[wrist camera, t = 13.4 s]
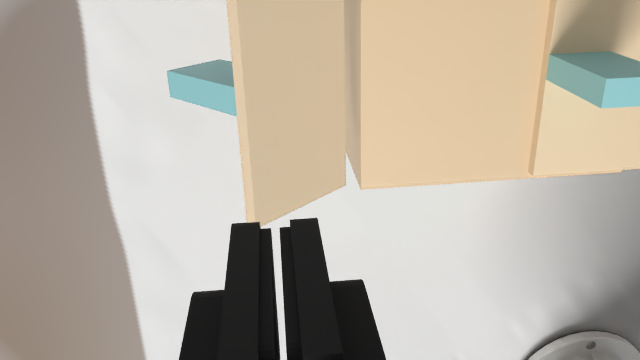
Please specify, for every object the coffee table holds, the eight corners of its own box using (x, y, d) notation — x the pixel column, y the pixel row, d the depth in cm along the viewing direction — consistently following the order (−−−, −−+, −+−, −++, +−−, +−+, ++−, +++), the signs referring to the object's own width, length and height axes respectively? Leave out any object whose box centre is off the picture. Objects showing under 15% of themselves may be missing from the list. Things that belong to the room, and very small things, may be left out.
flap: (255, 229, 25) (184, 194, 28) (345, 184, 29) (273, 160, 32) (232, -48, 20) (150, -49, 24) (343, -55, 24) (259, -55, 28)
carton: (536, 107, 41) (709, 218, 25) (333, 118, 40) (381, 242, 24) (559, -77, 36) (793, -81, 20) (329, -69, 35) (386, -68, 19)
